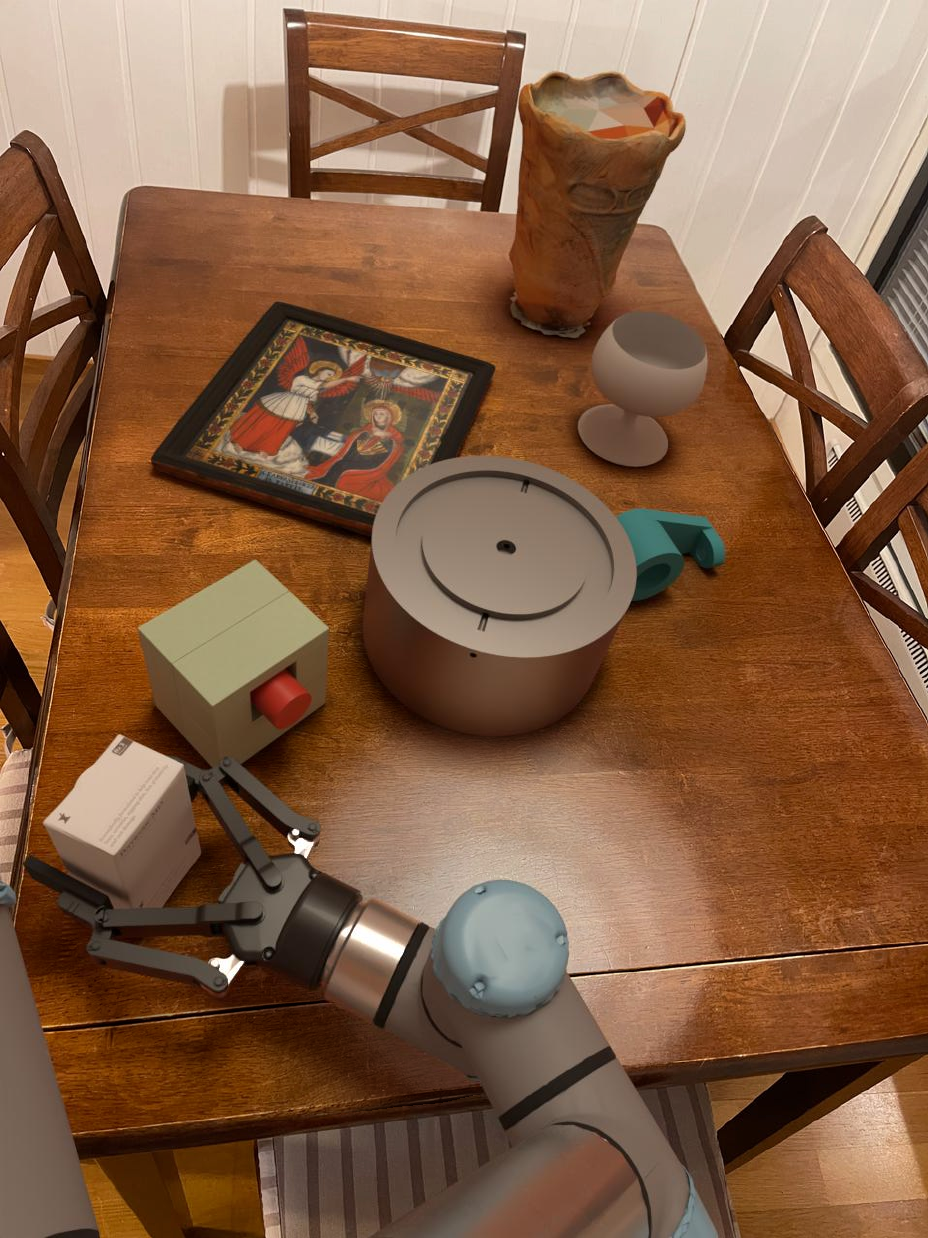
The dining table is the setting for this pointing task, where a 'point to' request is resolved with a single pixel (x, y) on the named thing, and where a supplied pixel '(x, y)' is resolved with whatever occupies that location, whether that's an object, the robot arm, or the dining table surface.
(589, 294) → the vase
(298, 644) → the box
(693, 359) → the chalice
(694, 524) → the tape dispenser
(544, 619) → the container
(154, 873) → the cosmetic box
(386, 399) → the framed painting
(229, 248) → the dining table surface
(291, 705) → the button
